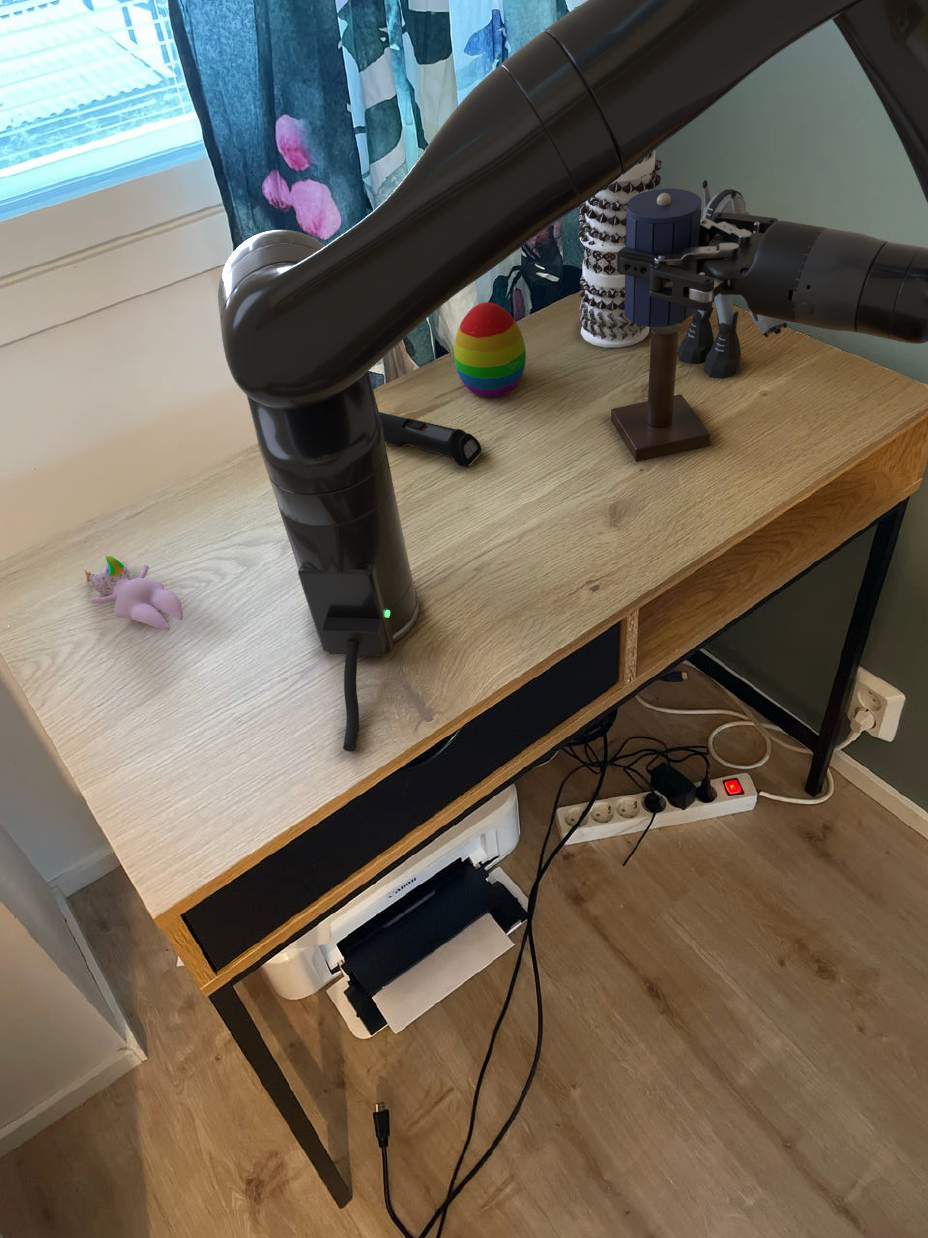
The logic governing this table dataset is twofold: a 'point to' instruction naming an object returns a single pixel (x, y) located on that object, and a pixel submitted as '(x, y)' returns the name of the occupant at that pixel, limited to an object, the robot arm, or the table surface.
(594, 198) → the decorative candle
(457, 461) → the electric trimmer
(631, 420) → the hat peg
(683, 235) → the slatted storage jar
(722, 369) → the robot
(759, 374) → the table surface
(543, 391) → the table surface
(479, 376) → the decorative egg
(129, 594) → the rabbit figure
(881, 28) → the robot arm
